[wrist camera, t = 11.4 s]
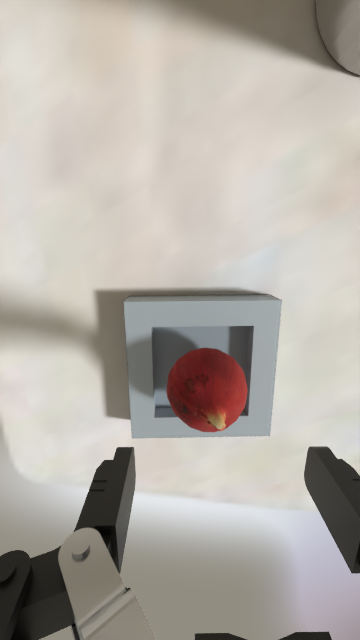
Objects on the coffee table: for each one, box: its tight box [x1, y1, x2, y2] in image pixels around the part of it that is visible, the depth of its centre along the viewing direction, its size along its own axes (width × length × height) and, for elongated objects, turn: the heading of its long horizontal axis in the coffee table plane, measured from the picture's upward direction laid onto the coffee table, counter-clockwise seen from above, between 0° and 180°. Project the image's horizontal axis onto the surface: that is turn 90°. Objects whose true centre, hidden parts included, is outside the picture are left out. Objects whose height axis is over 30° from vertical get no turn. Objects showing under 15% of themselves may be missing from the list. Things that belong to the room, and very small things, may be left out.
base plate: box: [124, 295, 282, 438], centre depth 23 cm, size 12×12×2 cm
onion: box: [166, 348, 248, 432], centre depth 20 cm, size 6×6×8 cm
